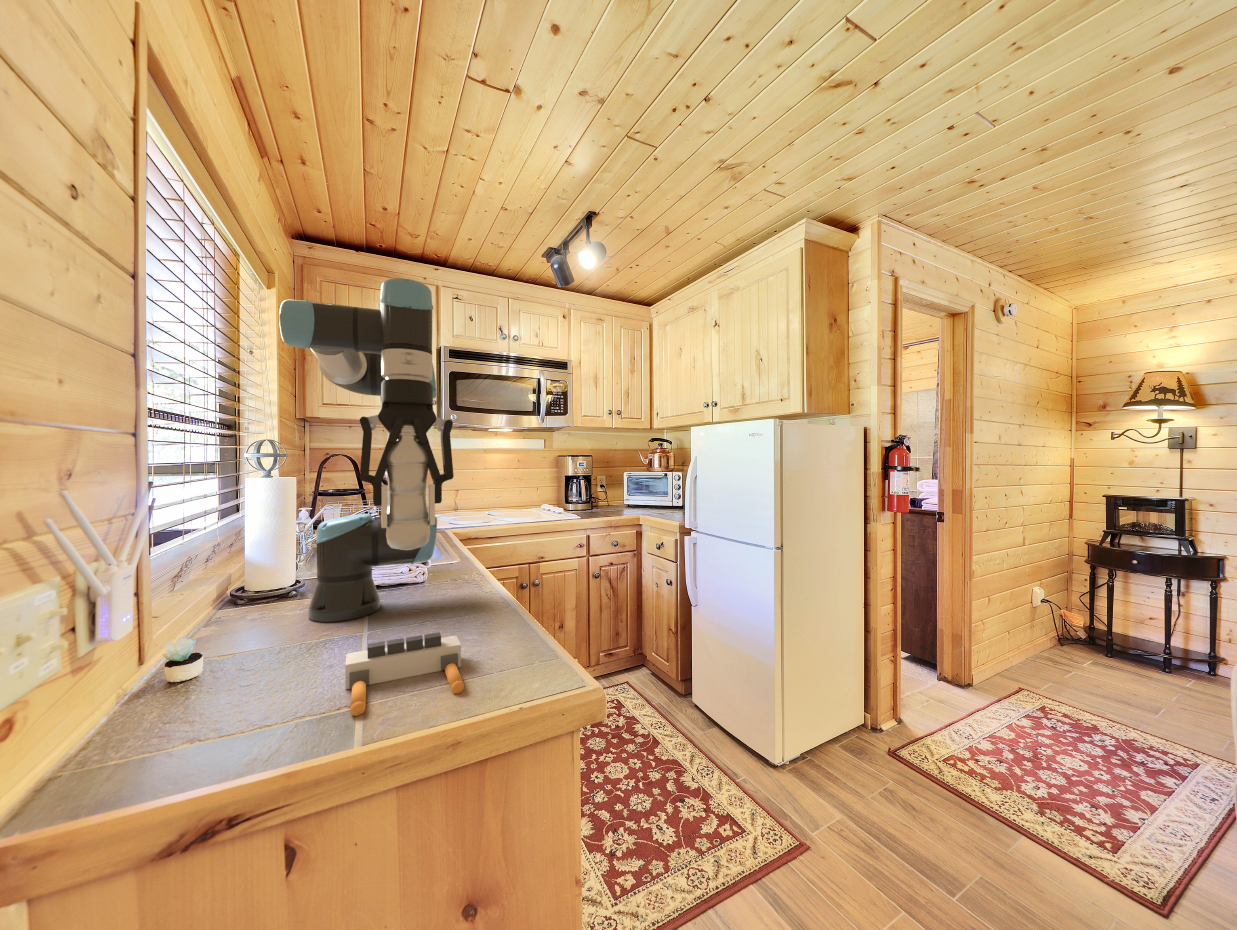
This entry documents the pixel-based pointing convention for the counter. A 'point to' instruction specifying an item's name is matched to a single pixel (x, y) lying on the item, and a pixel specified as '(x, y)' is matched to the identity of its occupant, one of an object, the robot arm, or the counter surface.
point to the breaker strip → (402, 659)
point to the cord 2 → (454, 678)
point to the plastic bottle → (407, 492)
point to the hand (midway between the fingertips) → (408, 525)
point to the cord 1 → (358, 698)
